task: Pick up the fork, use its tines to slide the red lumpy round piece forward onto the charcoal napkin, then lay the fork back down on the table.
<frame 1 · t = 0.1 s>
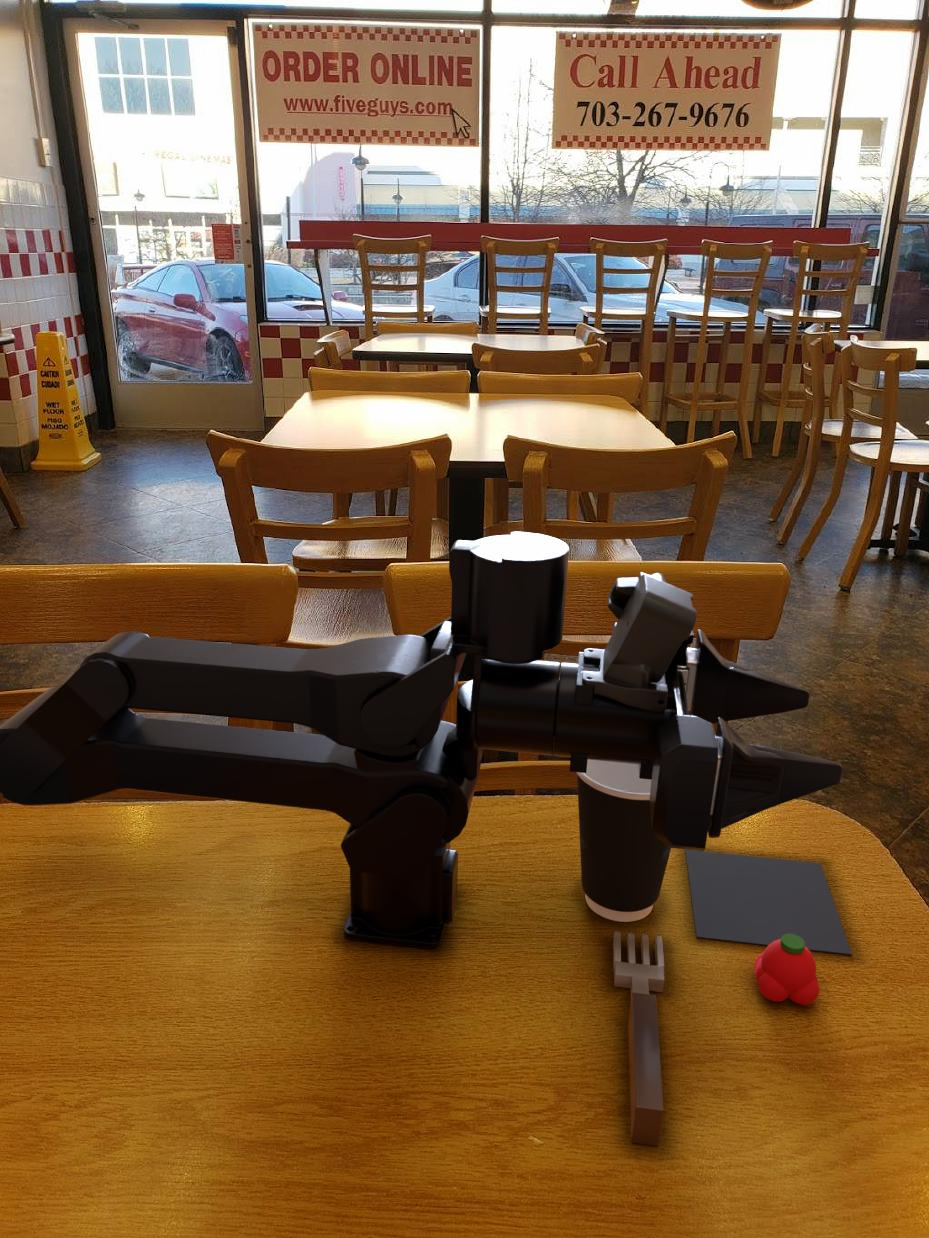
hand: (823, 733, 55), 17 cm above the table, tool horizontal, fingers open, 9 cm apart
dixie cup: (618, 901, 66), on the table
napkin: (762, 898, 67), on the table
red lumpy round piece: (783, 990, 59), on the table
fork: (640, 1039, 55), on the table
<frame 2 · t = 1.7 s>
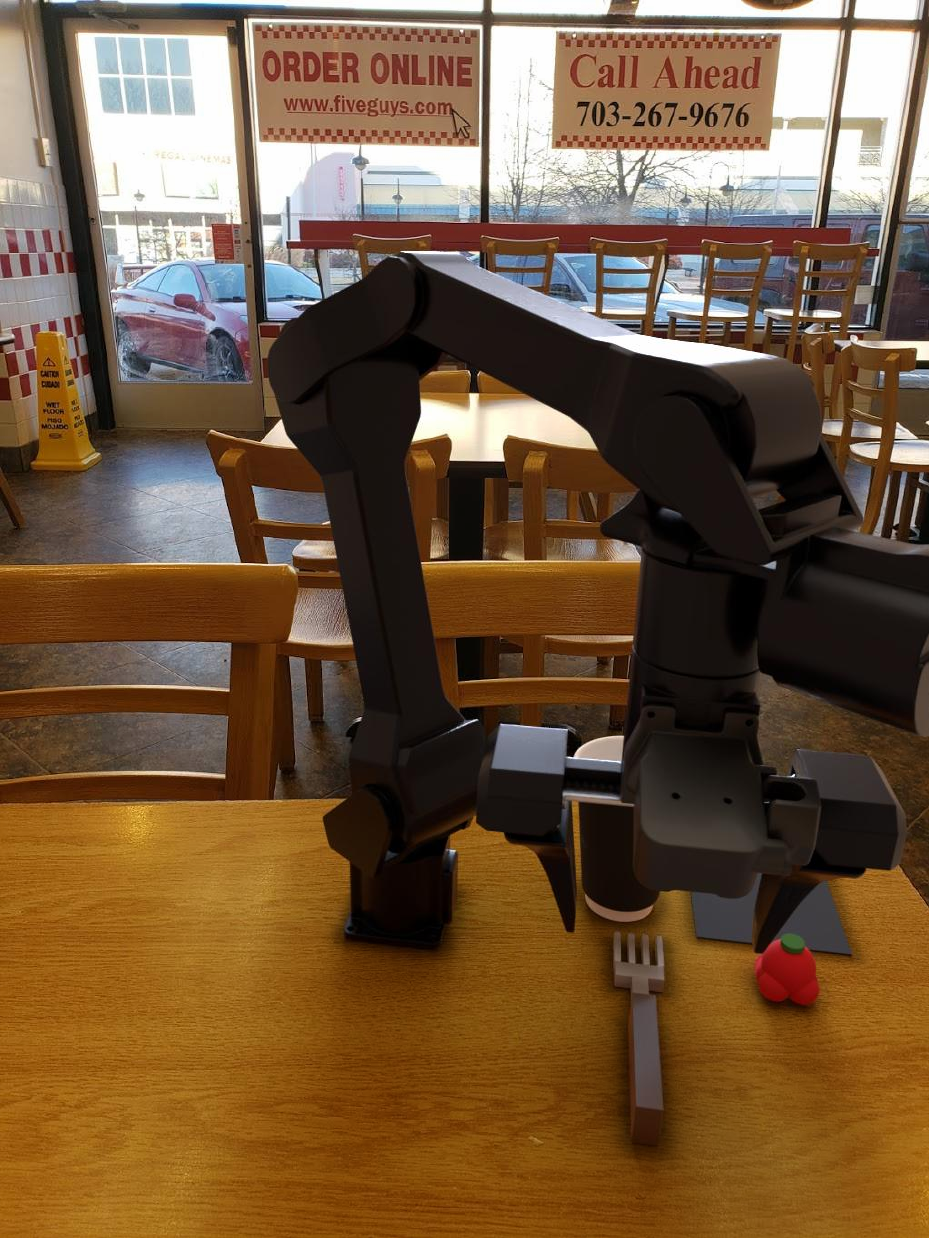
hand: (662, 937, 47), 11 cm above the table, tool pointing down, fingers open, 9 cm apart
nothing on the table moved.
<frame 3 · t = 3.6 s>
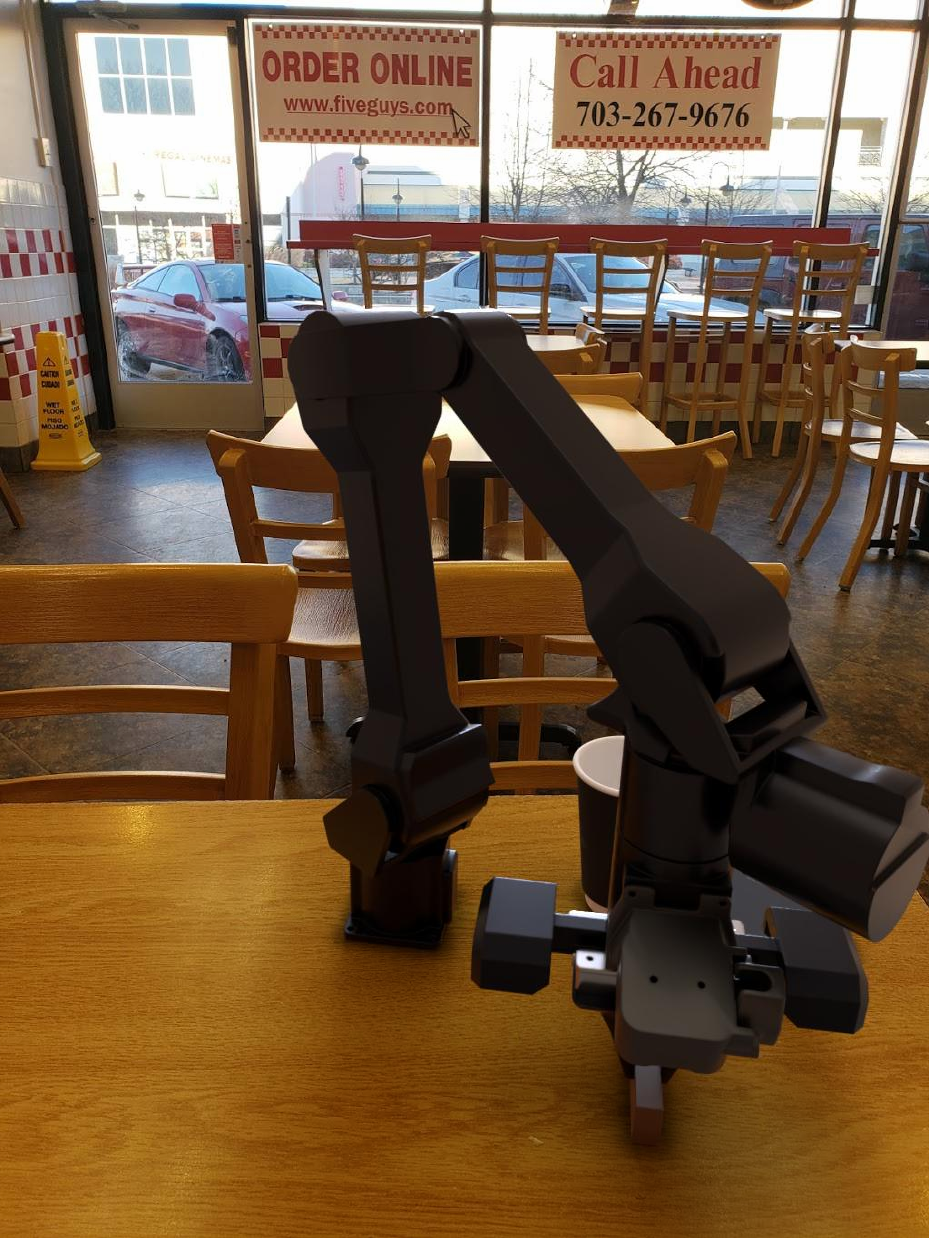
hand: (645, 1074, 50), 2 cm above the table, tool pointing down, fingers closed on fork, 1 cm apart
fork: (640, 1039, 55), on the table, touching gripper
everything else where it was.
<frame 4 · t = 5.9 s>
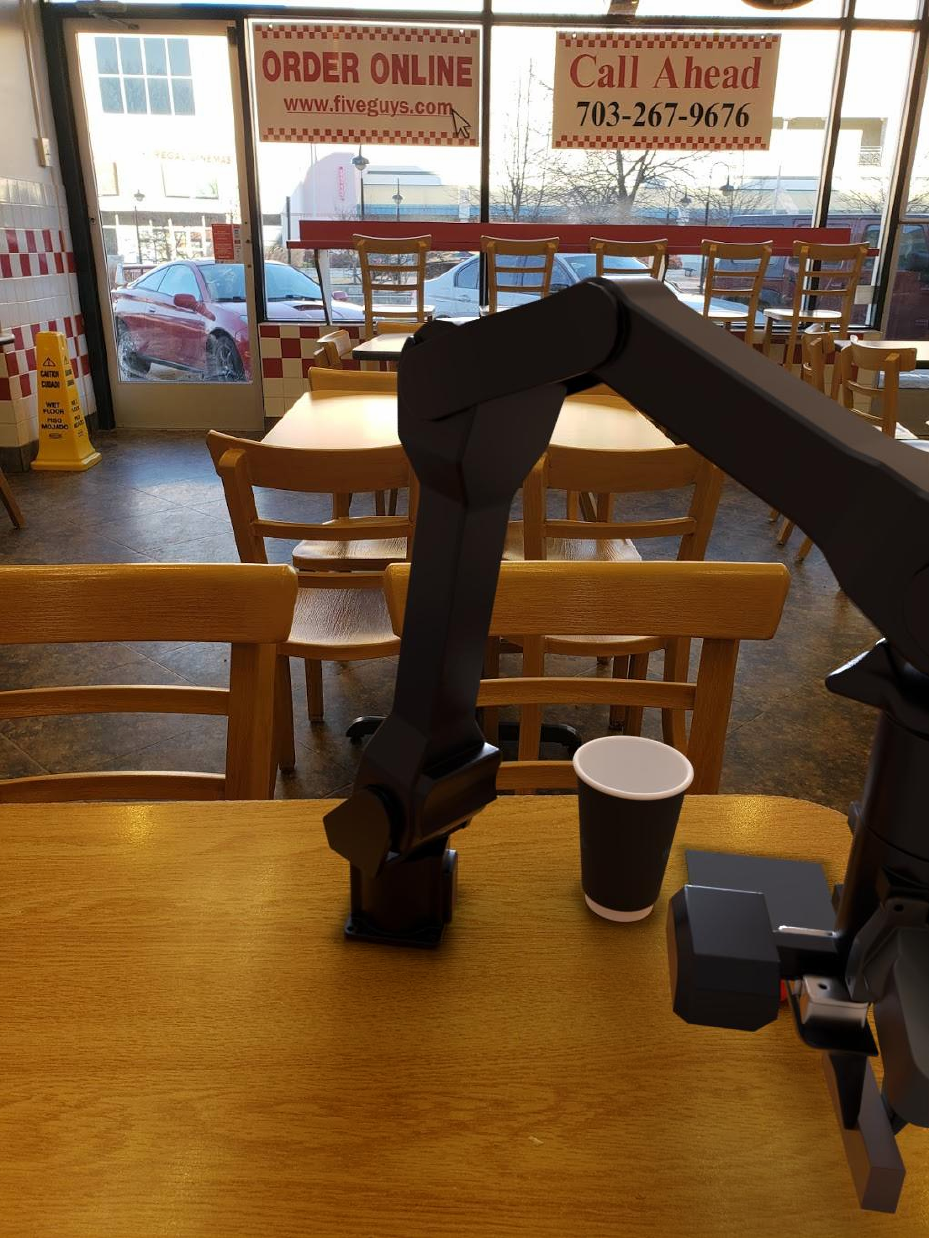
hand: (865, 1124, 42), 7 cm above the table, tool pointing down, fingers closed on fork
fork: (839, 1077, 46), point 5 cm above the table, touching gripper
everything else where it was.
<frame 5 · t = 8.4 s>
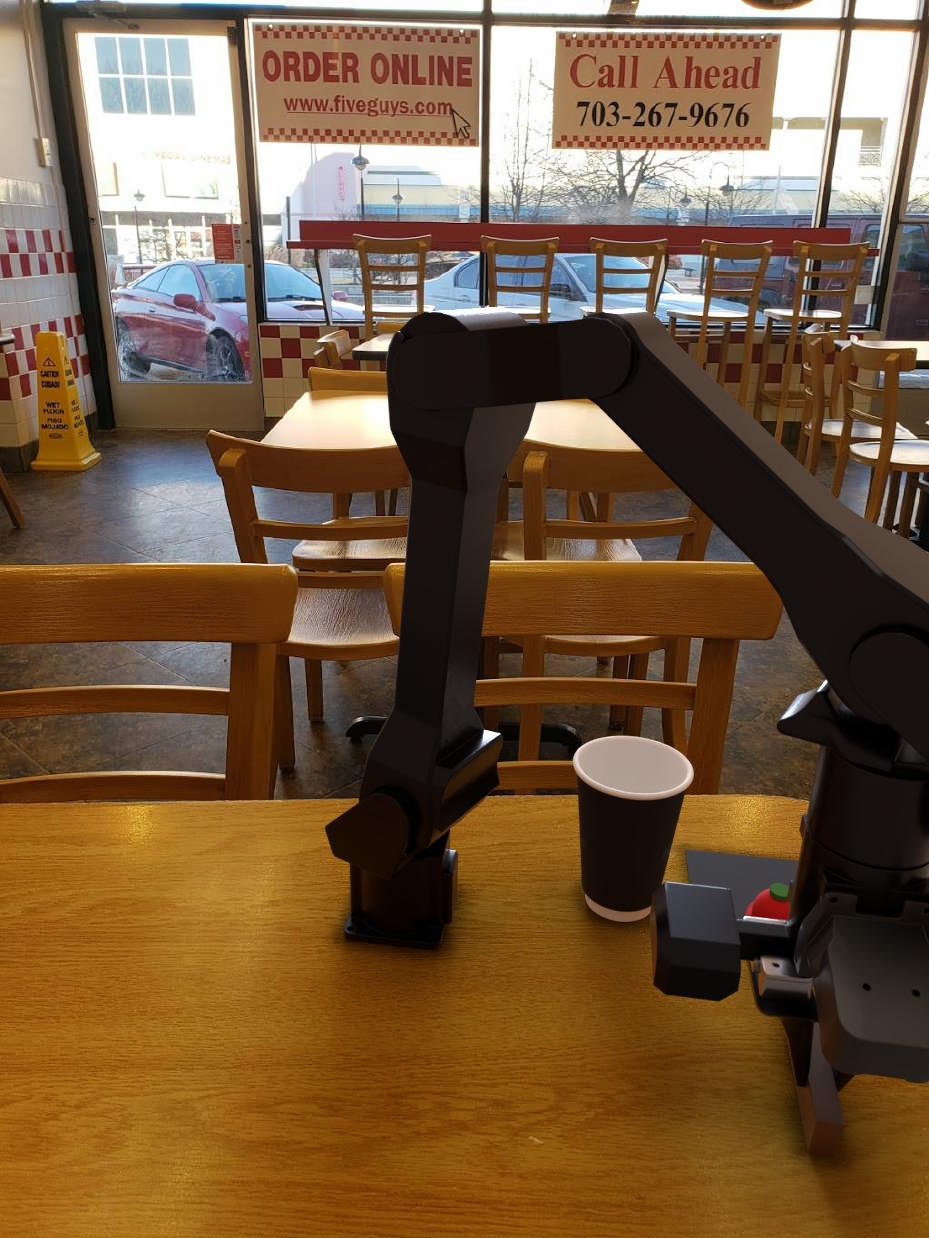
hand: (815, 1082, 50), 2 cm above the table, tool pointing down, fingers closed on fork, 1 cm apart
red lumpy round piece: (772, 935, 63), on the table, touching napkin
fork: (798, 1039, 54), point 1 cm above the table, tilted 5°, touching gripper
everything else where it was.
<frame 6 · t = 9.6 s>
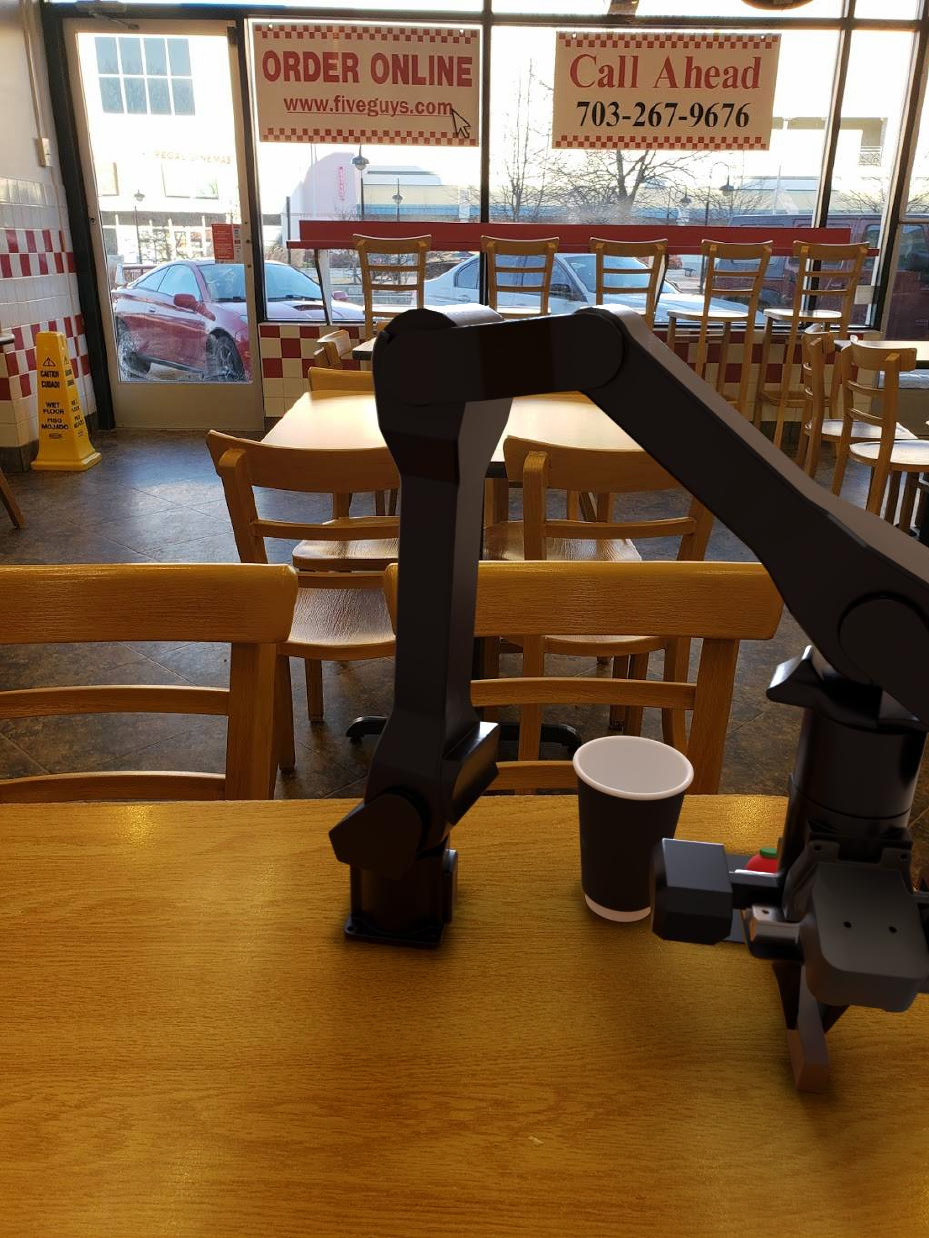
hand: (804, 1026, 53), 2 cm above the table, tool pointing down, fingers closed on fork, 1 cm apart
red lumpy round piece: (766, 902, 66), resting on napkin, tilted 17°, touching fork
fork: (789, 986, 57), point 1 cm above the table, tilted 9°, touching gripper, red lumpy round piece
everything else where it was.
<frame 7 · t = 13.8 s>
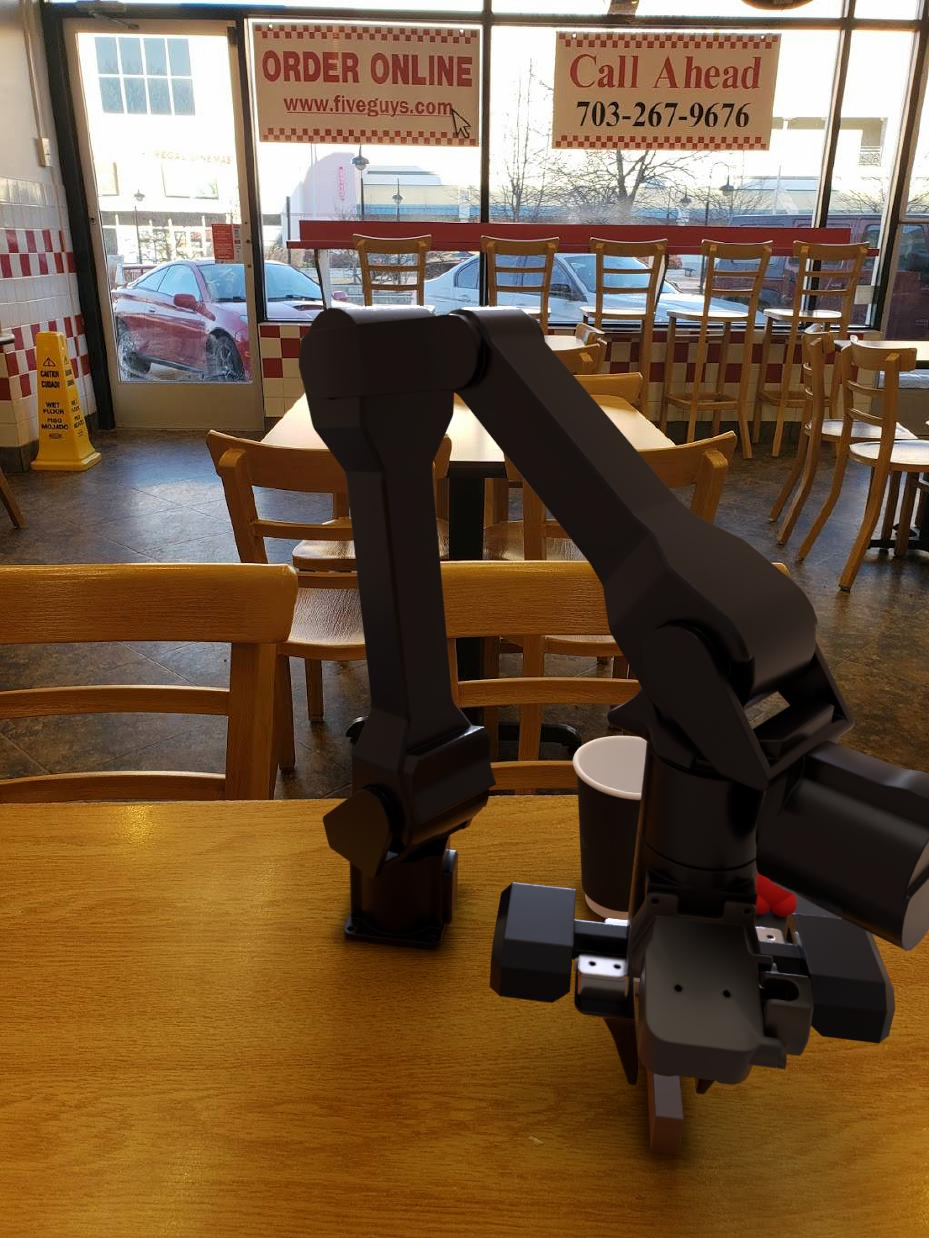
hand: (665, 1083, 50), 2 cm above the table, tool pointing down, fingers open, 3 cm apart
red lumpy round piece: (765, 906, 66), resting on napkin
fork: (657, 1046, 54), on the table
everything else where it was.
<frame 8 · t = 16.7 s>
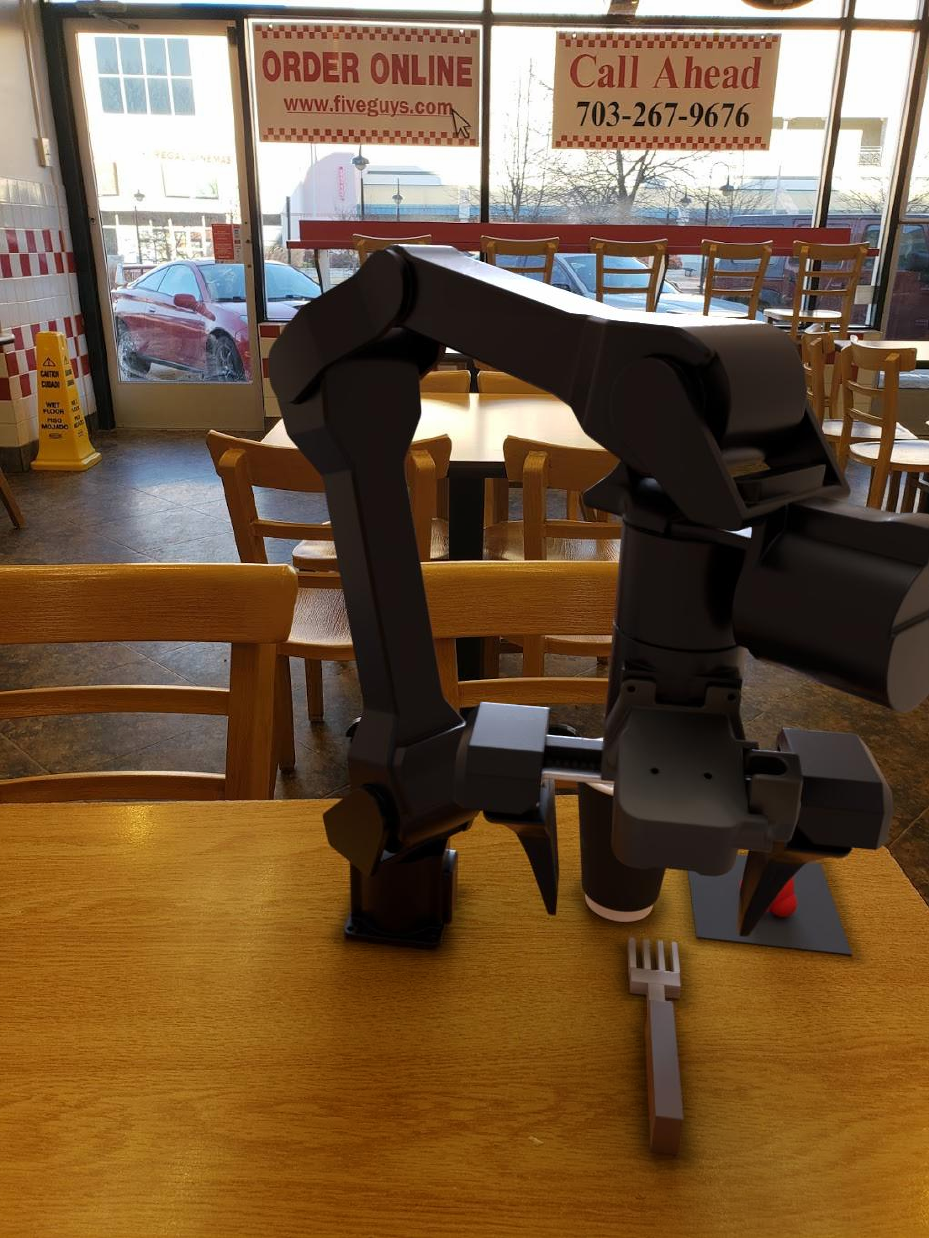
hand: (646, 920, 46), 12 cm above the table, tool pointing down, fingers open, 9 cm apart
nothing on the table moved.
at the end: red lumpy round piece inside the target area on the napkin (0.9 cm from its centre), point 0.1 cm above the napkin's base; the gripper is holding nothing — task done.
